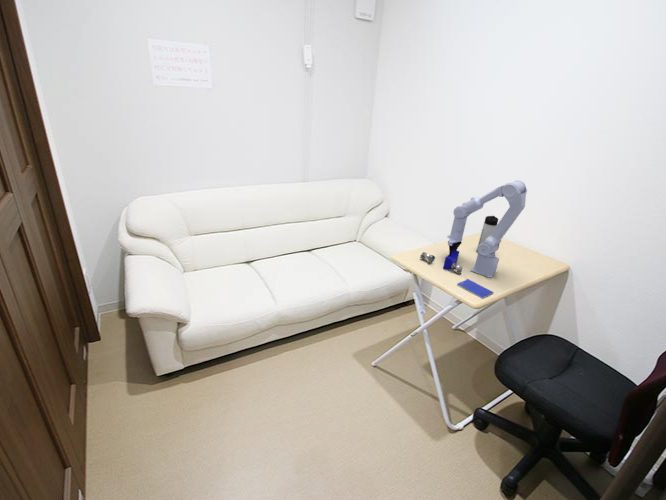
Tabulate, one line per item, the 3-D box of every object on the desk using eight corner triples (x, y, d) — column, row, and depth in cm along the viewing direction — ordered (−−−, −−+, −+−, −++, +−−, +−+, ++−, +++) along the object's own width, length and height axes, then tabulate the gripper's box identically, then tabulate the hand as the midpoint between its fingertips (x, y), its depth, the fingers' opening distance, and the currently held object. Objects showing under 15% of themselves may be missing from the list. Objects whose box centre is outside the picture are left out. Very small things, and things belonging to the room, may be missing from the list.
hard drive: (457, 283, 150) (482, 296, 142) (468, 278, 155) (493, 291, 146) (456, 286, 151) (482, 300, 142) (467, 281, 156) (492, 294, 147)
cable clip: (447, 259, 174) (450, 248, 172) (456, 262, 172) (459, 251, 170) (440, 267, 165) (442, 256, 163) (449, 270, 163) (452, 259, 161)
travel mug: (489, 252, 187) (499, 217, 178) (487, 256, 182) (497, 220, 173) (477, 248, 190) (487, 214, 181) (475, 252, 184) (484, 217, 176)
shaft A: (450, 270, 161) (451, 263, 160) (453, 268, 164) (454, 261, 162) (459, 273, 159) (460, 266, 158) (461, 271, 162) (463, 264, 160)
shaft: (434, 261, 169) (435, 255, 167) (429, 263, 167) (430, 256, 165) (424, 256, 173) (426, 250, 172) (419, 258, 172) (421, 251, 170)
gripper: (455, 223, 176) (449, 248, 182) (444, 230, 165) (438, 256, 171) (468, 227, 172) (462, 252, 178) (458, 235, 162) (452, 261, 167)
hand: (451, 254), depth 174 cm, fingers closed
